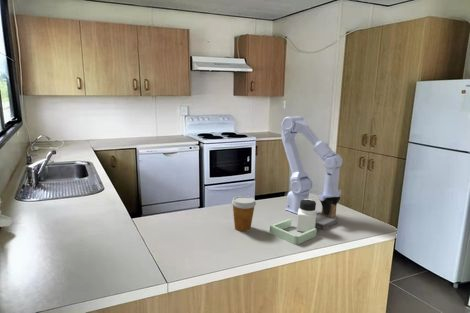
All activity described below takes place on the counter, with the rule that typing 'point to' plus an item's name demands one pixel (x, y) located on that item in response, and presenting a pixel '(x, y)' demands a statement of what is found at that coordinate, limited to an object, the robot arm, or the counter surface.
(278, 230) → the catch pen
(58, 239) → the counter surface
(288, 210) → the robot arm
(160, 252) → the counter surface
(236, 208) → the disposable coffee cup
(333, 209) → the scraper
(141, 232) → the counter surface
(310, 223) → the medicine bottle
